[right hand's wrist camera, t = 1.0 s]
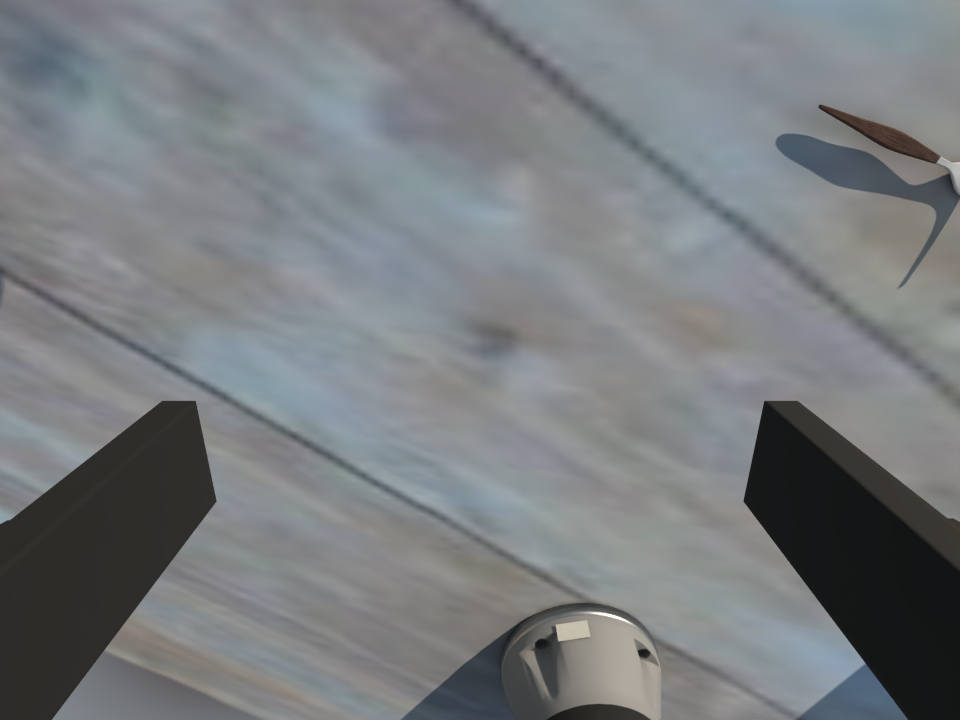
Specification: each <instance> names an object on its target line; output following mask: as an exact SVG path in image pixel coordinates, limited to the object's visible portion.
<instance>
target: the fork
mask: <svg viewBox="0 0 960 720" xmlns="http://www.w3.org/2000/svg"><path fill="white" fill-rule="evenodd" d="M819 108H820V109H821V110H823V111H824V112H826V113H828V114H829V115H831V116H833V117H834V118H836V119H838V120H840V121H841V122H843V123H845V124H846V125H848V126H850V127H852V128H853V129H855V130H856V131H858V132H860V133H861V134H863V135H864V136H866V137H867V138H869V139H871V140H872V141H874V142H875V143H877V144H879V145H881V146H883V147H885V148H887V149H889V150H892V151H895V152H898V153H901V154H904V155H907V156H910V157H914V158H917V159H921V160H924V161H927V162H931V163H934V164H937V165H940V166H942V167H944V168H946V169H947V170H948V171H949V173H950V176H951V180H952V184H953V187H954V189H955V191H956V193H957V194H958V195H959V196H960V162H958V163H953V162H949V161H947V160H945V159H944V158H942V157H941V156H939V155H938V154H936V153H935V152H933V151H932V150H930V149H929V148H927V147H926V146H924V145H923V144H921V143H920V142H918V141H917V140H915V139H913V138H912V137H910V136H908V135H907V134H905V133H903V132H901V131H899V130H896V129H893V128H891V127H888V126H885V125H881V124H878V123H875V122H871V121H868V120H865V119H862V118H859V117H856V116H853V115H850V114H847V113H844V112H841V111H838V110H836V109H833V108H830V107H827V106H823V105H819Z"/></svg>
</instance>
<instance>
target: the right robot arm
mask: <svg viewBox="0 0 960 720" xmlns="http://www.w3.org/2000/svg"><path fill="white" fill-rule="evenodd" d="M215 503H216V497H215V492H214V487H213V482H212V477H211V473H210V468H209V463H208V458H207V453H206V449H205V444H204V439H203V434H202V429H201V425H200V420H199V415H198V410H197V405H196V401H162V402H160V403H159V404H158V405H157V406H155V407H154V408H153V409H152V410H150V411H149V412H148V413H146V414H145V415H144V416H143V417H141V418H140V419H139V420H137V421H136V422H135V423H134V424H132V425H131V426H130V427H129V428H127V429H126V430H125V431H123V432H122V433H121V434H120V435H118V436H117V437H116V438H115V439H113V440H112V441H111V442H109V443H108V444H107V445H106V446H104V447H103V448H102V449H100V450H99V451H98V452H97V453H95V454H94V455H93V456H92V457H90V458H89V459H88V460H86V461H85V462H84V463H83V464H81V465H80V466H79V467H78V468H76V469H75V470H74V471H72V472H71V473H70V474H69V475H67V476H66V477H65V478H63V479H62V480H61V481H60V482H58V483H57V484H56V485H55V486H53V487H52V488H51V489H49V490H48V491H47V492H46V493H44V494H43V495H42V496H41V497H39V498H38V499H37V500H35V501H34V502H33V503H32V504H30V505H29V506H28V507H26V508H25V509H24V510H23V511H21V512H20V513H19V514H18V515H16V516H15V517H14V518H12V519H11V520H7V521H6V522H4V523H2V524H0V720H52V719H53V717H54V716H55V715H56V713H57V712H58V711H59V709H60V708H61V707H62V705H63V704H64V703H65V701H66V700H67V699H68V697H69V696H70V695H71V693H72V692H73V691H74V689H75V688H76V687H77V685H78V684H79V683H80V681H81V680H82V679H83V678H84V676H85V675H86V674H87V672H88V671H89V669H90V668H91V667H92V666H93V664H94V663H95V662H96V660H97V659H98V658H99V656H100V655H101V654H102V652H103V651H104V650H105V648H106V647H107V646H108V644H109V643H110V642H111V640H112V639H113V638H114V636H115V635H116V634H117V632H118V631H119V630H120V629H121V627H122V626H123V625H124V623H125V622H126V621H127V619H128V618H129V617H130V615H131V614H132V613H133V611H134V610H135V609H136V607H137V606H138V605H139V603H140V602H141V601H142V599H143V598H144V597H145V595H146V594H147V593H148V591H149V590H150V589H151V587H152V586H153V585H154V583H155V582H156V581H157V579H158V578H159V577H160V575H161V574H162V573H163V572H164V570H165V569H166V568H167V566H168V565H169V564H170V562H171V561H172V560H173V558H174V557H175V556H176V554H177V553H178V552H179V550H180V549H181V548H182V546H183V545H184V544H185V542H186V541H187V540H188V538H189V537H190V536H191V534H192V533H193V532H194V530H195V529H196V528H197V526H198V525H199V524H200V522H201V521H202V520H203V519H204V517H205V516H206V515H207V513H208V512H209V511H210V509H211V508H212V507H213V505H214V504H215ZM744 503H745V504H746V505H747V507H748V508H749V509H750V511H751V512H752V513H753V515H754V516H755V517H756V519H757V520H758V521H759V522H760V524H761V525H762V526H763V528H764V529H765V530H766V532H767V533H768V534H769V536H770V537H771V538H772V540H773V541H774V542H775V544H776V545H777V546H778V548H779V549H780V550H781V552H782V553H783V554H784V556H785V557H786V558H787V560H788V561H789V562H790V564H791V565H792V566H793V568H794V569H795V570H796V572H797V573H798V574H799V575H800V577H801V578H802V579H803V581H804V582H805V583H806V585H807V586H808V587H809V589H810V590H811V591H812V593H813V594H814V595H815V597H816V598H817V599H818V601H819V602H820V603H821V605H822V606H823V607H824V609H825V610H826V611H827V613H828V614H829V615H830V617H831V618H832V619H833V621H834V622H835V623H836V625H837V626H838V627H839V629H840V630H841V631H842V632H843V634H844V635H845V636H846V638H847V639H848V640H849V642H850V643H851V644H852V646H853V647H854V648H855V650H856V651H857V652H858V654H859V655H860V656H861V658H862V659H863V660H864V662H865V663H866V664H867V666H868V667H869V668H870V670H871V671H872V672H873V674H874V675H875V676H876V678H877V679H878V680H879V682H880V683H881V684H882V685H883V687H884V688H885V689H886V691H887V692H888V693H889V695H890V696H891V697H892V699H893V700H894V701H895V703H896V704H897V705H898V707H899V708H900V709H901V711H902V712H903V713H904V715H905V716H906V717H907V719H908V720H960V522H959V521H957V520H955V519H948V518H946V517H945V516H944V515H942V514H941V513H940V512H939V511H937V510H936V509H935V508H934V507H932V506H931V505H930V504H928V503H927V502H926V501H925V500H923V499H922V498H921V497H919V496H918V495H917V494H916V493H914V492H913V491H912V490H911V489H909V488H908V487H907V486H905V485H904V484H903V483H902V482H900V481H899V480H898V479H897V478H895V477H894V476H893V475H891V474H890V473H889V472H888V471H886V470H885V469H884V468H882V467H881V466H880V465H879V464H877V463H876V462H875V461H874V460H872V459H871V458H870V457H868V456H867V455H866V454H865V453H863V452H862V451H861V450H860V449H858V448H857V447H856V446H854V445H853V444H852V443H851V442H849V441H848V440H847V439H845V438H844V437H843V436H842V435H840V434H839V433H838V432H837V431H835V430H834V429H833V428H831V427H830V426H829V425H828V424H826V423H825V422H824V421H823V420H821V419H820V418H819V417H817V416H816V415H815V414H814V413H812V412H811V411H810V410H808V409H807V408H806V407H805V406H803V405H802V404H801V403H800V402H798V401H764V405H763V410H762V415H761V420H760V425H759V429H758V434H757V439H756V444H755V449H754V453H753V458H752V463H751V468H750V473H749V477H748V482H747V487H746V492H745V497H744ZM501 678H502V684H503V689H504V693H505V696H506V699H507V701H508V704H509V706H510V709H511V712H512V714H513V717H514V719H515V720H661V668H660V662H659V657H658V653H657V650H656V647H655V644H654V642H653V639H652V637H651V635H650V634H649V632H648V631H647V629H646V628H645V627H644V626H643V625H642V624H641V623H640V622H639V621H638V620H637V619H635V618H634V617H632V616H631V615H629V614H627V613H625V612H623V611H621V610H619V609H616V608H613V607H610V606H605V605H600V604H591V603H576V604H567V605H561V606H557V607H553V608H550V609H547V610H545V611H542V612H540V613H538V614H536V615H534V616H532V617H530V618H529V619H527V620H526V621H524V622H523V623H522V624H521V625H520V626H518V627H517V628H516V629H515V630H514V632H513V633H512V634H511V635H510V637H509V638H508V640H507V641H506V643H505V646H504V648H503V651H502V655H501Z"/></svg>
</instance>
